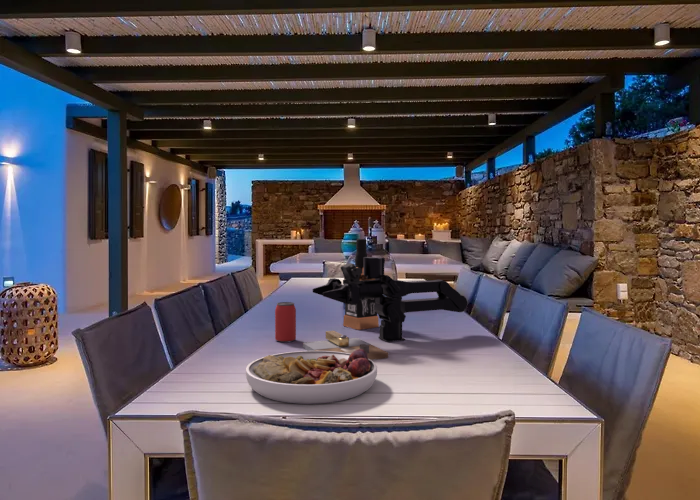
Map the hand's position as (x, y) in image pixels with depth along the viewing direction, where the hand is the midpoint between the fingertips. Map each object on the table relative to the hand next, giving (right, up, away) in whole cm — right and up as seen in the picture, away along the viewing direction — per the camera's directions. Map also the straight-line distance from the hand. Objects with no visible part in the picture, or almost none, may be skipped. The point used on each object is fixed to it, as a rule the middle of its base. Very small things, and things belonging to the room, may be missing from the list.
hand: (317, 292), depth 162 cm
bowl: (+1, -19, -39) cm, 43 cm away
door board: (+10, -17, -12) cm, 23 cm away
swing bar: (+6, -15, -2) cm, 16 cm away
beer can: (-11, -16, +9) cm, 22 cm away
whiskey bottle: (+14, -15, +33) cm, 39 cm away
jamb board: (+6, -17, -3) cm, 18 cm away
